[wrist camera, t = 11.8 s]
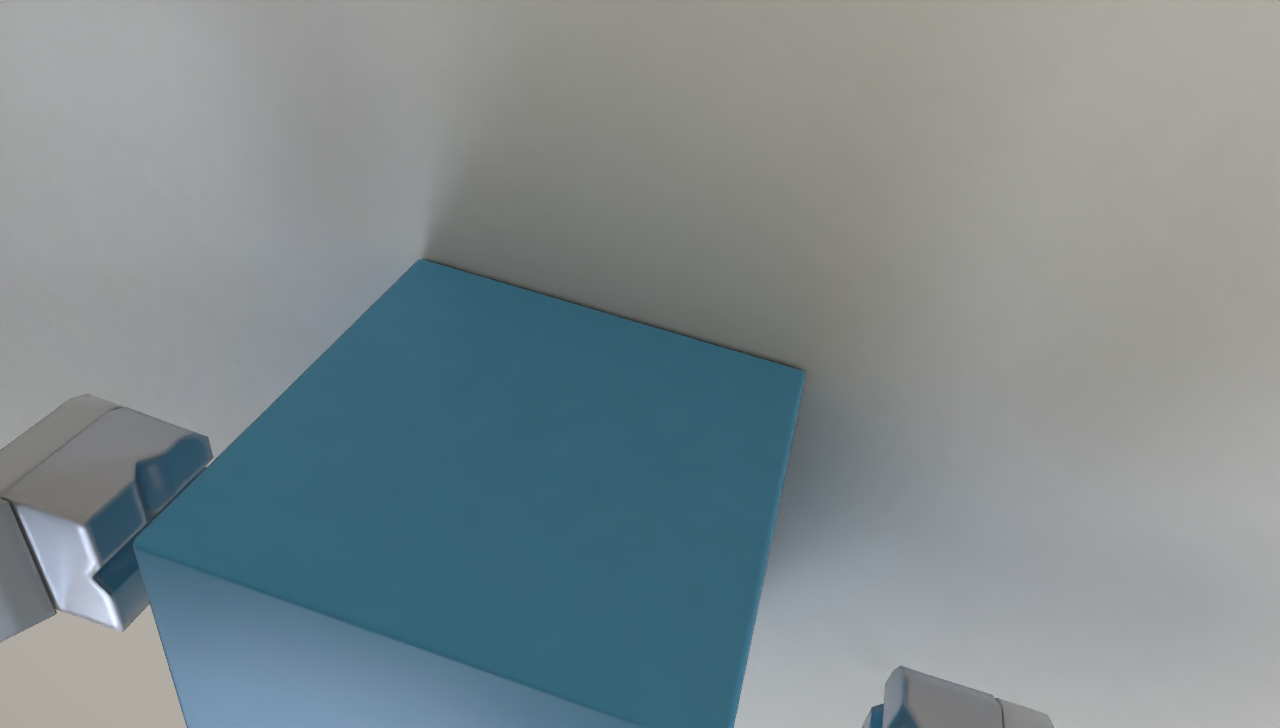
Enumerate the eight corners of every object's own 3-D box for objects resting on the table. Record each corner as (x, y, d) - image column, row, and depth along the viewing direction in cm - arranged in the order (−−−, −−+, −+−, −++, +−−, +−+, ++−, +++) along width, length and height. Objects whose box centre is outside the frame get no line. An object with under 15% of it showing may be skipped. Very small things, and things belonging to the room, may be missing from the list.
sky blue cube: (417, 523, 14) (213, 828, 10) (419, 255, 11) (127, 541, 7) (718, 623, 13) (627, 989, 9) (807, 369, 10) (729, 752, 6)
